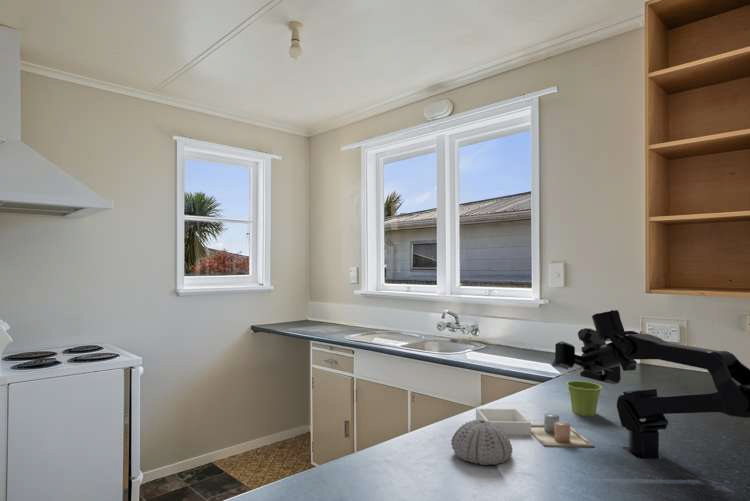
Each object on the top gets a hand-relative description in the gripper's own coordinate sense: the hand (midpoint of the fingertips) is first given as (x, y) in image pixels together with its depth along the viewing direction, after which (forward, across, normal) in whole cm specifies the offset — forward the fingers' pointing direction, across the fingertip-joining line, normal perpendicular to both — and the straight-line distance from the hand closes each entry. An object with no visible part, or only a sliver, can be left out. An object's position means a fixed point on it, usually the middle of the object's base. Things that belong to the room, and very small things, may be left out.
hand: (566, 369), depth 131 cm
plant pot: (+9, -13, +8) cm, 17 cm away
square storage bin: (+5, +16, +20) cm, 26 cm away
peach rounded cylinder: (-6, +6, +21) cm, 23 cm away
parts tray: (-3, +6, +20) cm, 21 cm away
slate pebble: (-1, +5, +18) cm, 19 cm away
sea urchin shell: (-7, +28, +31) cm, 42 cm away
